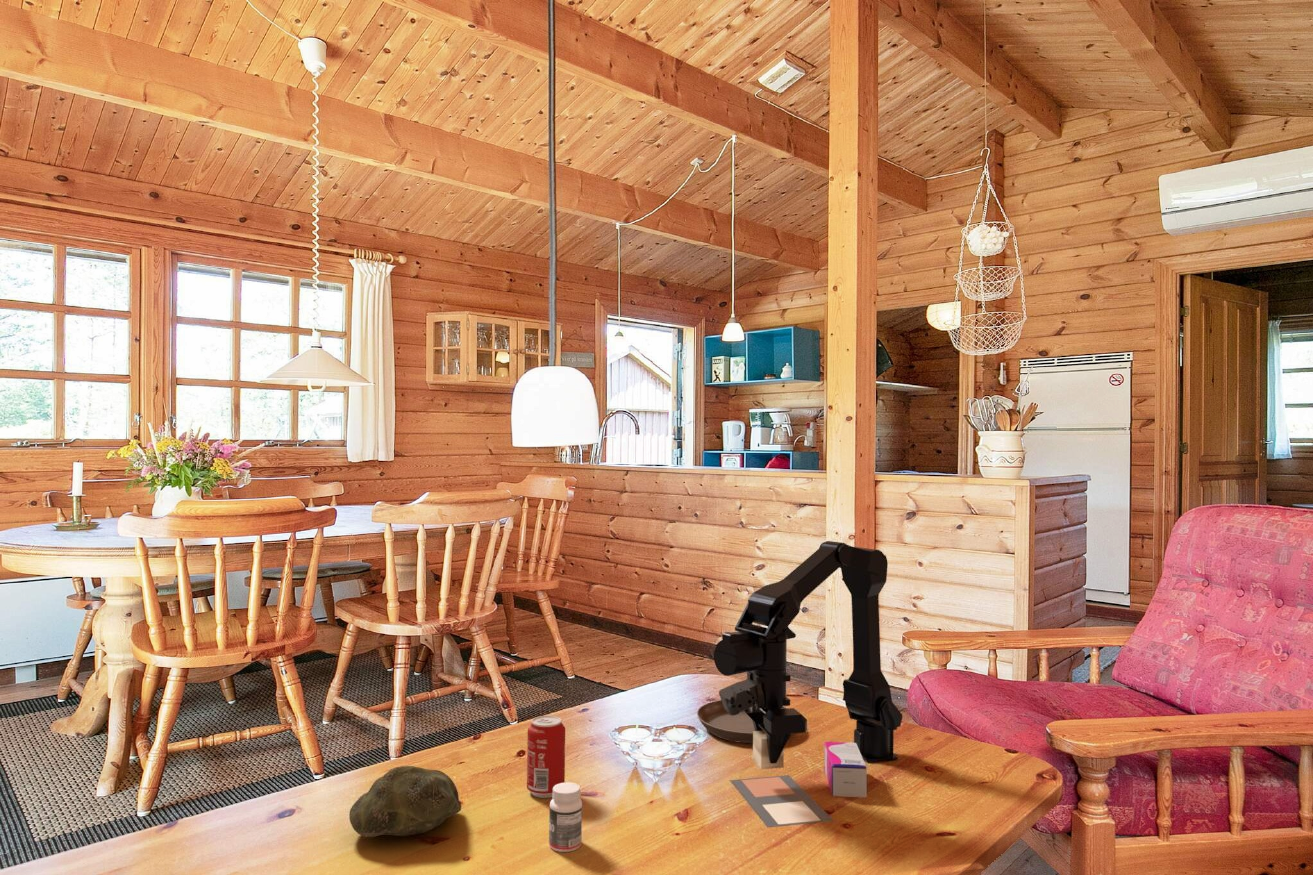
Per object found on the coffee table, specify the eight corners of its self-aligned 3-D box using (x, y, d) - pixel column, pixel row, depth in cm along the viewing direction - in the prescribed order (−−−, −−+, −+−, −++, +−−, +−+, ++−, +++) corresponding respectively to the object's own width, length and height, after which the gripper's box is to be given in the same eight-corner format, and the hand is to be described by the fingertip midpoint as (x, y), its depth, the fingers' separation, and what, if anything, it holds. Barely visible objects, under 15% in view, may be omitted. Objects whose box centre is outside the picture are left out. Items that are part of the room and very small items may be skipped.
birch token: (774, 758, 141) (774, 729, 141) (783, 767, 137) (783, 737, 137) (752, 760, 140) (753, 731, 140) (761, 769, 136) (761, 739, 137)
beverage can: (571, 788, 138) (572, 717, 139) (551, 802, 133) (552, 728, 133) (539, 781, 141) (541, 712, 141) (519, 795, 135) (520, 722, 136)
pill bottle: (549, 837, 121) (550, 780, 121) (581, 836, 121) (582, 780, 121) (548, 853, 116) (549, 794, 116) (581, 852, 117) (582, 793, 117)
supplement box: (867, 802, 135) (856, 773, 147) (867, 766, 135) (857, 740, 146) (831, 800, 136) (824, 771, 147) (831, 765, 136) (824, 739, 147)
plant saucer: (804, 748, 159) (805, 731, 159) (699, 746, 159) (699, 729, 159) (788, 714, 180) (788, 699, 180) (694, 712, 180) (695, 697, 180)
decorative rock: (374, 816, 130) (374, 752, 132) (472, 812, 130) (471, 747, 131) (335, 853, 116) (334, 780, 117) (445, 848, 115) (443, 775, 116)
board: (788, 778, 144) (788, 774, 144) (834, 824, 126) (834, 820, 126) (729, 783, 141) (729, 779, 141) (767, 831, 124) (767, 827, 124)
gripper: (708, 654, 146) (707, 742, 146) (743, 684, 128) (742, 784, 128) (766, 652, 149) (765, 737, 149) (808, 680, 131) (807, 778, 131)
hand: (768, 758), depth 139 cm, fingers closed on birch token, 4 cm apart
